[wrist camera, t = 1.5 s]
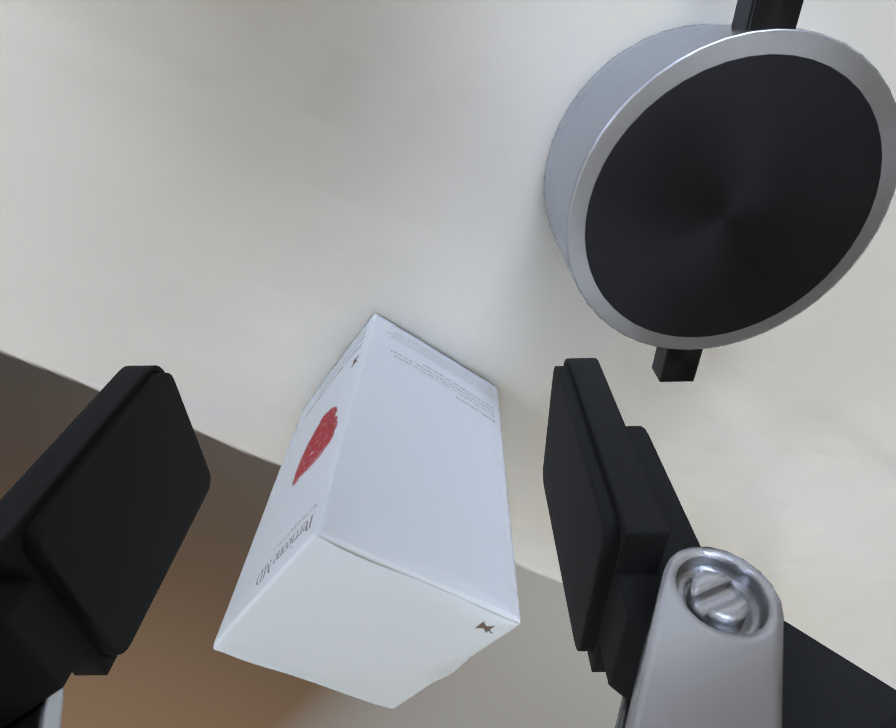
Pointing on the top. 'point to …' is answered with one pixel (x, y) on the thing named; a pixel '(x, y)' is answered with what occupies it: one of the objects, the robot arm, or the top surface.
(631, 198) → the pot
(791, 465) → the top surface
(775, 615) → the robot arm
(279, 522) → the white product box
